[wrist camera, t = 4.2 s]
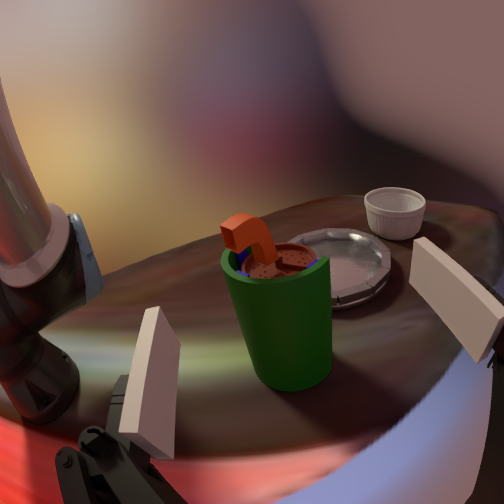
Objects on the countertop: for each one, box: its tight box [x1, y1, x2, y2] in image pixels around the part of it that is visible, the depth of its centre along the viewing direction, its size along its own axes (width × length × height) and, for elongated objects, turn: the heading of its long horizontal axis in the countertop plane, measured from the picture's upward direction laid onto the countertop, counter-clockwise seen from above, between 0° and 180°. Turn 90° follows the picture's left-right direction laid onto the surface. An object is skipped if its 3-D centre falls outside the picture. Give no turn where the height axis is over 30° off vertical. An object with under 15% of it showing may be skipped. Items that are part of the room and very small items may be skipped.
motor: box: [220, 213, 332, 392], centre depth 27 cm, size 10×9×20 cm
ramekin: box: [364, 187, 426, 240], centre depth 51 cm, size 13×13×7 cm
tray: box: [287, 228, 391, 311], centre depth 45 cm, size 20×20×3 cm
